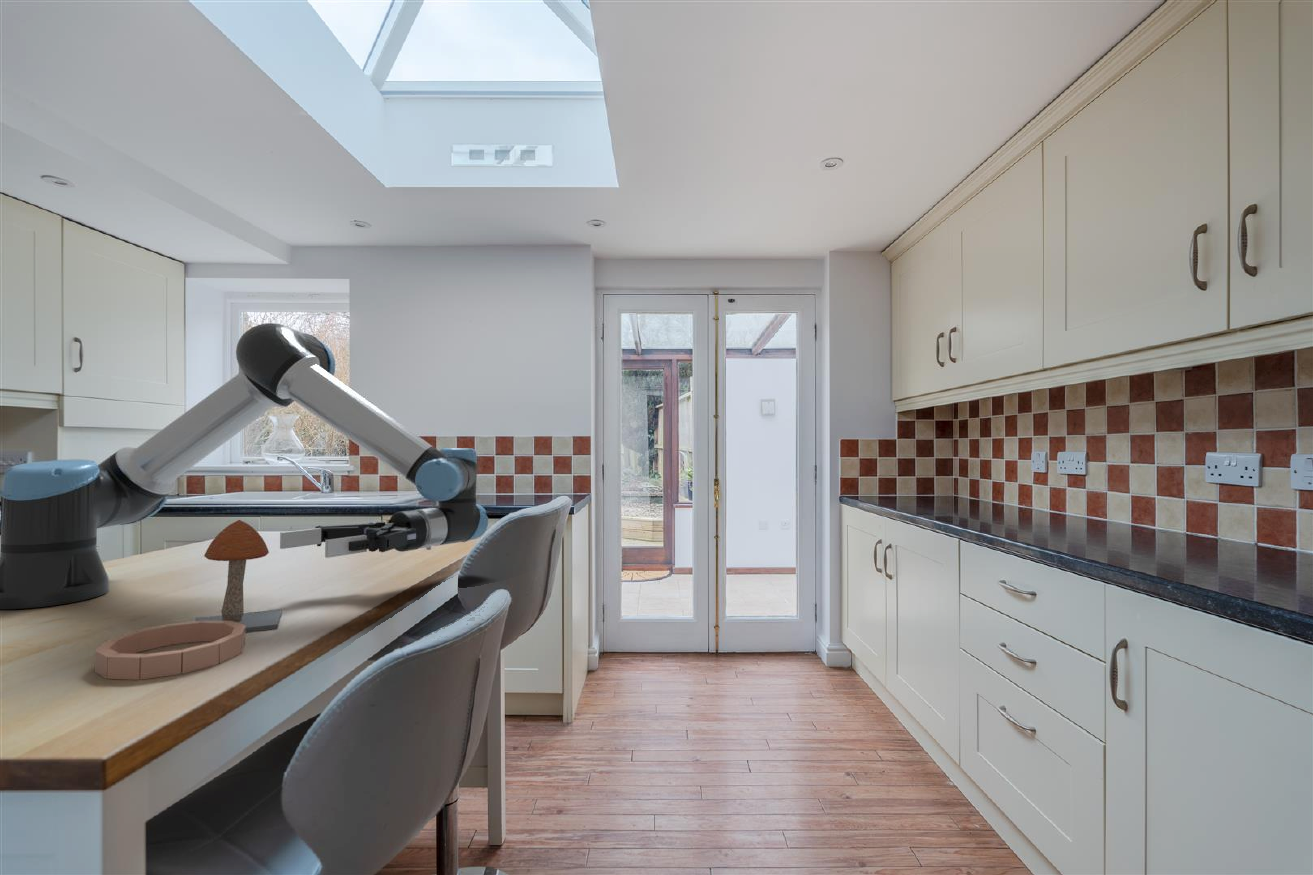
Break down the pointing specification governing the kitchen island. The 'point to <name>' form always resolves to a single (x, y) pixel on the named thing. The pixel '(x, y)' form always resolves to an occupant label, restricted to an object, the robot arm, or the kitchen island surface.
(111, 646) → the ring
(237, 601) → the mushroom
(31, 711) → the kitchen island surface
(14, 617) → the kitchen island surface
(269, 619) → the mat
